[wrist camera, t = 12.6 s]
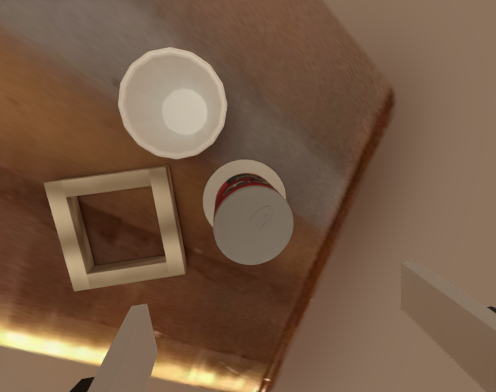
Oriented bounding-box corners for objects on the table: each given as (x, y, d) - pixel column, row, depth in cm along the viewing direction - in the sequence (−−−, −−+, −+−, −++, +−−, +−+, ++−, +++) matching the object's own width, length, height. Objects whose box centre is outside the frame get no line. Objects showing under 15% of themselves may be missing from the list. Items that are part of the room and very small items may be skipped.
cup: (242, 112, 36) (249, 105, 27) (188, 169, 37) (178, 180, 28) (181, 50, 34) (167, 20, 25) (126, 112, 35) (93, 105, 26)
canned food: (283, 185, 38) (307, 204, 28) (258, 238, 39) (272, 277, 29) (230, 161, 37) (233, 172, 26) (205, 217, 38) (200, 249, 27)
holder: (55, 179, 36) (43, 183, 34) (168, 164, 37) (165, 167, 35) (83, 281, 39) (74, 291, 37) (187, 265, 40) (185, 274, 38)
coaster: (197, 165, 37) (196, 165, 37) (280, 154, 38) (281, 154, 37) (209, 244, 40) (209, 246, 39) (288, 233, 40) (289, 234, 40)
